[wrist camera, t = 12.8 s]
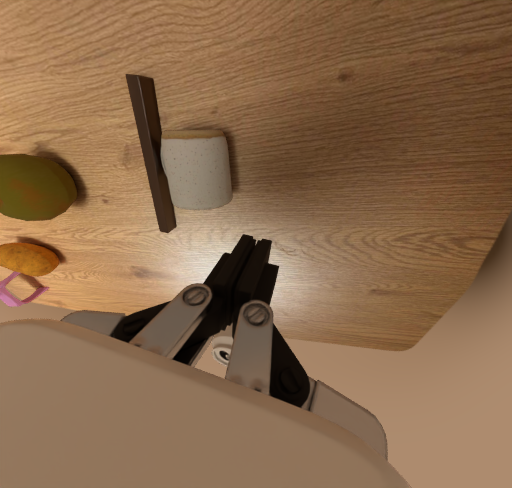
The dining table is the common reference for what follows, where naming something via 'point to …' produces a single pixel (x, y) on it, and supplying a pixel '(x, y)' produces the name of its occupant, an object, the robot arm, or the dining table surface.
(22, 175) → the apple
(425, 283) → the dining table surface
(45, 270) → the potato
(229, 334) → the can
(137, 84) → the back rail
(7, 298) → the toy chair
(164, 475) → the robot arm
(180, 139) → the ceramic mug
